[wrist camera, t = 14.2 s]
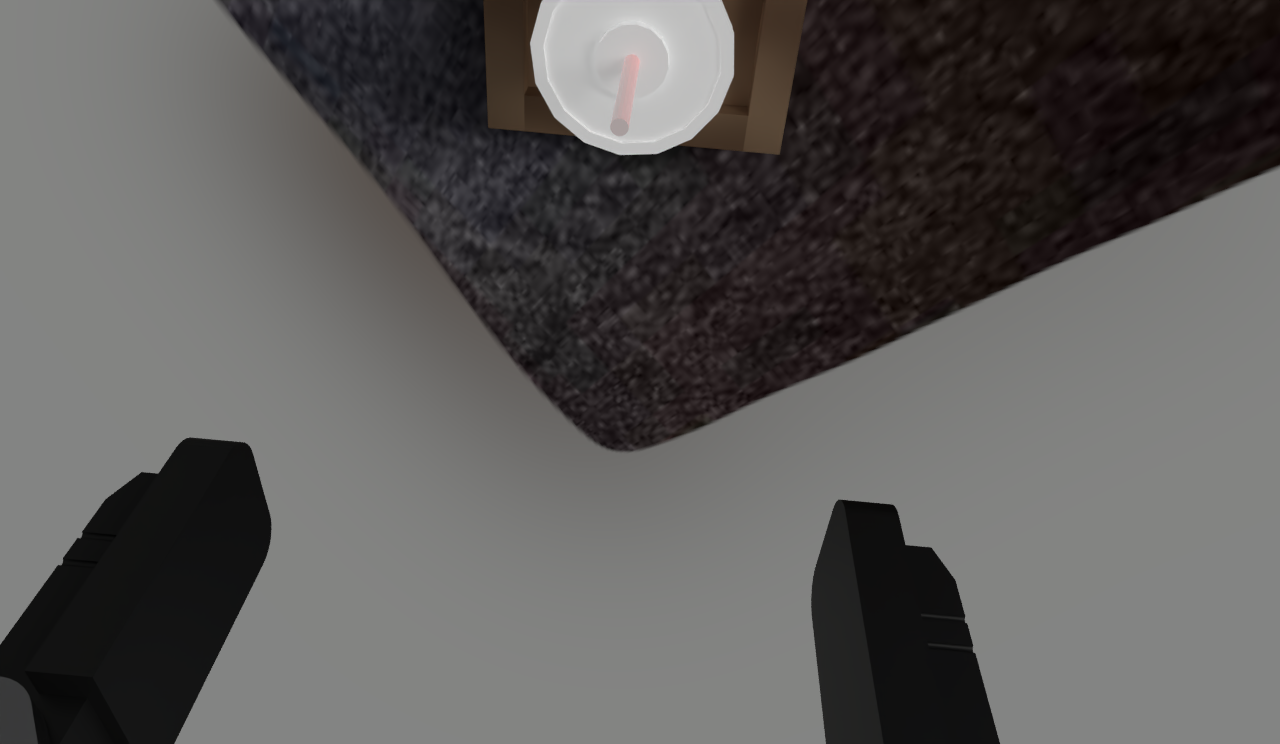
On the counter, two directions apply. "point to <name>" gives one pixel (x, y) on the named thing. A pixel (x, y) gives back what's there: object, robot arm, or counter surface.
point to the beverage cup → (633, 69)
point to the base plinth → (747, 121)
